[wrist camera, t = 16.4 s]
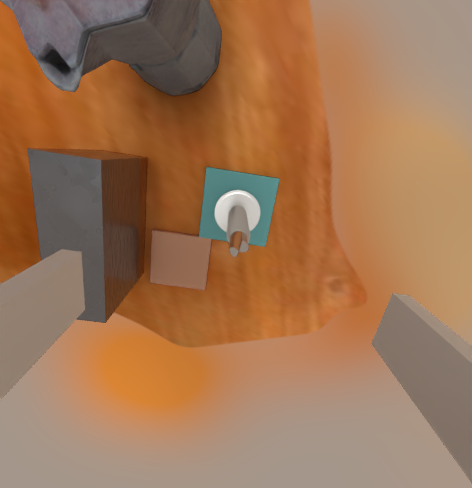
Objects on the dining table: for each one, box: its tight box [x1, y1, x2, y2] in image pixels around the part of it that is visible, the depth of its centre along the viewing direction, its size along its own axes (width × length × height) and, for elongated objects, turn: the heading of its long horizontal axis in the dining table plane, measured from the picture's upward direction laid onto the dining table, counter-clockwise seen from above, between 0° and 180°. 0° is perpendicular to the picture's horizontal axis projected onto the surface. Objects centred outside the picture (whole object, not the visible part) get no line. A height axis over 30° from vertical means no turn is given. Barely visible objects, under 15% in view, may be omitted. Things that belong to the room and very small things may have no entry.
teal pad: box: [199, 167, 279, 247], centre depth 29 cm, size 8×8×1 cm
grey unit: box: [28, 148, 147, 323], centre depth 25 cm, size 5×14×10 cm, turn 171°
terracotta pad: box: [150, 229, 212, 290], centre depth 31 cm, size 7×7×1 cm
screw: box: [215, 190, 260, 257], centre depth 22 cm, size 13×5×5 cm
